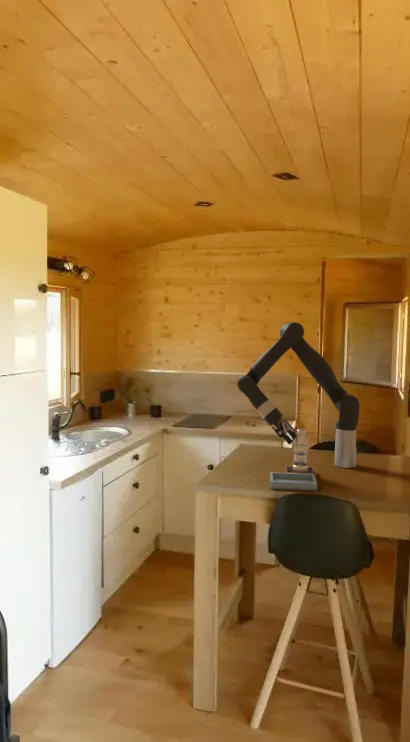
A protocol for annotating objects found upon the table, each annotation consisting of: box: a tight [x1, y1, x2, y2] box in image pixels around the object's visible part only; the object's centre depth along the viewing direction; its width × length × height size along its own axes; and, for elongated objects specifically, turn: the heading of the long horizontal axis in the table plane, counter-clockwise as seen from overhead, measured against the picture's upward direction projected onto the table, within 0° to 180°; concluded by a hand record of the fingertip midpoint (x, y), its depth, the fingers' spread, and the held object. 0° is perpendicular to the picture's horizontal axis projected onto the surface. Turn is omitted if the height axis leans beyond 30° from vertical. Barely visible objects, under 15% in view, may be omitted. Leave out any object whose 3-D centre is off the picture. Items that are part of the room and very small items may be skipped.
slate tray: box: [269, 471, 318, 492], centre depth 227 cm, size 18×14×3 cm
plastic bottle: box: [292, 428, 310, 473], centre depth 240 cm, size 6×7×20 cm
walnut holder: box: [283, 465, 318, 481], centre depth 241 cm, size 13×12×2 cm
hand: (294, 441), depth 241 cm, fingers open, 8 cm apart
